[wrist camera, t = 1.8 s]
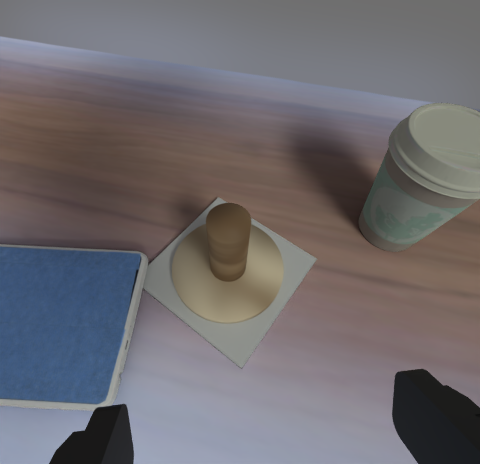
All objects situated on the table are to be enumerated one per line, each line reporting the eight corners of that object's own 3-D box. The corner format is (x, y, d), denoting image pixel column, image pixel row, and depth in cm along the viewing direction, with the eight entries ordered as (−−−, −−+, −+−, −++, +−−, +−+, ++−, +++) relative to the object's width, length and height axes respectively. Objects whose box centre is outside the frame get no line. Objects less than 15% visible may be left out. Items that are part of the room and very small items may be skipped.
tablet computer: (151, 256, 28) (148, 249, 27) (115, 413, 21) (108, 412, 20) (-52, 245, 28) (-64, 238, 27) (-153, 397, 22) (-174, 396, 21)
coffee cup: (328, 225, 31) (377, 130, 21) (373, 183, 35) (434, 85, 25) (402, 281, 28) (500, 202, 18) (443, 229, 32) (545, 138, 21)
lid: (219, 207, 31) (218, 150, 25) (302, 260, 28) (325, 211, 22) (149, 278, 27) (124, 230, 20) (238, 349, 24) (243, 321, 17)
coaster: (218, 199, 33) (218, 197, 32) (315, 260, 29) (316, 258, 29) (134, 281, 27) (133, 279, 27) (241, 368, 24) (241, 368, 23)
